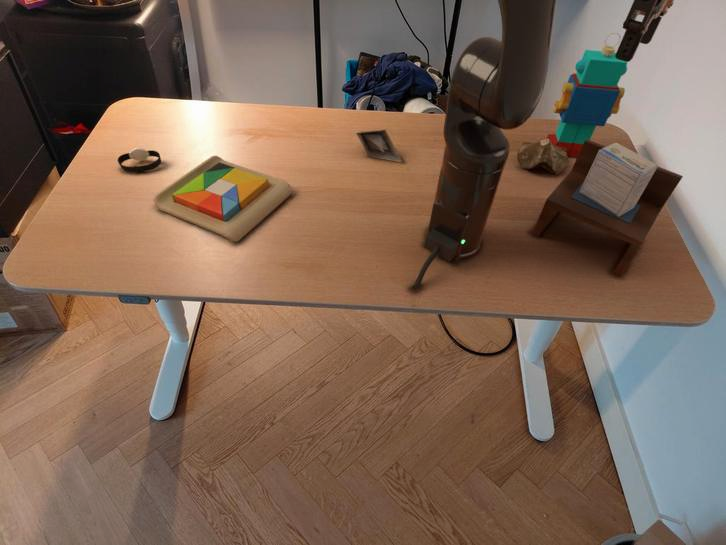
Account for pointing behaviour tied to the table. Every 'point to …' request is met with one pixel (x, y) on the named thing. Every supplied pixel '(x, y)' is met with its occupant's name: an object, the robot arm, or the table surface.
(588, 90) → the toy robot
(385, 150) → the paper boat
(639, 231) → the wooden toy chair
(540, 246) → the table surface
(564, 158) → the fossilized seashell
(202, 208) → the wooden puzzle
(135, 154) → the watch
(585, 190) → the medicine box
